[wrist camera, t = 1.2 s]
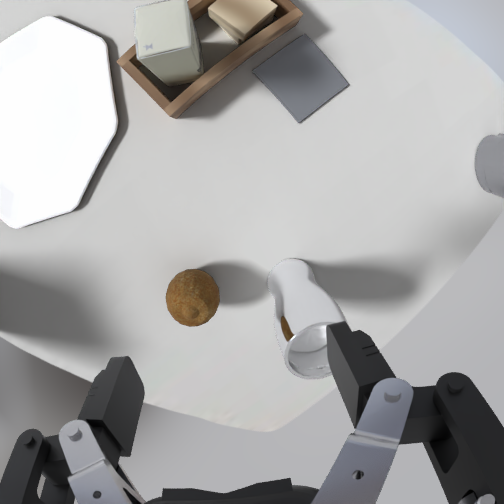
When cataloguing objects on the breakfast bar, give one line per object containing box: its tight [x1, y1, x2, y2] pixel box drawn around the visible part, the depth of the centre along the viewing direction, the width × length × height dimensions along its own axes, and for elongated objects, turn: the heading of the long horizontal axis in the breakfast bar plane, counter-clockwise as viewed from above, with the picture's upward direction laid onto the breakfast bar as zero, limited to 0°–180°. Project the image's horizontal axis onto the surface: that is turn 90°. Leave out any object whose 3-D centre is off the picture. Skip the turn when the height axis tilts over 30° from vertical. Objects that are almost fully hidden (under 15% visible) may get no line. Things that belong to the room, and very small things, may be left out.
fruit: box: [166, 269, 220, 326], centre depth 36 cm, size 6×6×8 cm
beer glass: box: [267, 259, 350, 379], centre depth 33 cm, size 7×7×15 cm
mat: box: [253, 34, 349, 123], centre depth 31 cm, size 8×8×1 cm
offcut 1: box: [208, 0, 277, 41], centre depth 25 cm, size 5×5×2 cm
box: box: [134, 0, 204, 87], centre depth 24 cm, size 5×4×13 cm
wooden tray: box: [116, 0, 303, 119], centre depth 27 cm, size 18×9×4 cm, turn 131°
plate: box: [0, 16, 119, 229], centre depth 30 cm, size 28×28×2 cm
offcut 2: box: [210, 15, 274, 45], centre depth 28 cm, size 5×5×2 cm
